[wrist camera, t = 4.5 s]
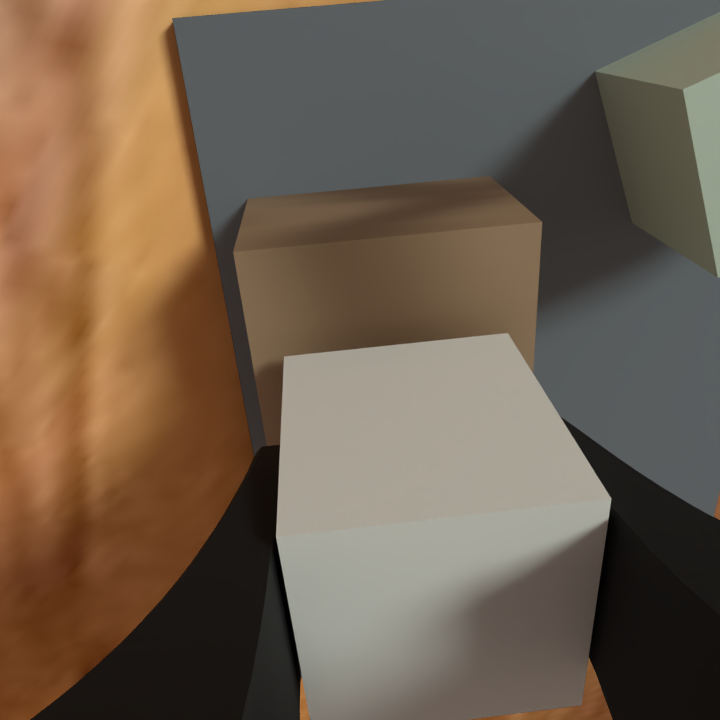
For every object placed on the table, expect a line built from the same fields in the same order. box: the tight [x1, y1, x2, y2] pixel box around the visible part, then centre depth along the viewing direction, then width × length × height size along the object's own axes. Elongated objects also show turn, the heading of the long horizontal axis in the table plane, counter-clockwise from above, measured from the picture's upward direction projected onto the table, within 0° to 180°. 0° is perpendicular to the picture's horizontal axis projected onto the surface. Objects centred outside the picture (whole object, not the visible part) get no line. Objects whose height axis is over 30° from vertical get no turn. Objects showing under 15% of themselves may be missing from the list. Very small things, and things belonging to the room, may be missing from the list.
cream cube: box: [276, 333, 611, 720], centre depth 12 cm, size 4×4×5 cm
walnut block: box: [233, 176, 542, 446], centre depth 16 cm, size 6×8×4 cm
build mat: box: [172, 0, 720, 677], centre depth 20 cm, size 15×22×1 cm
